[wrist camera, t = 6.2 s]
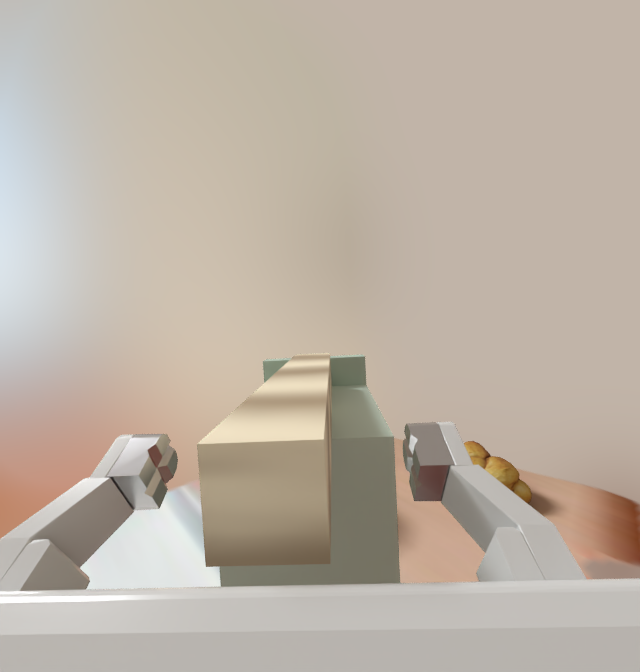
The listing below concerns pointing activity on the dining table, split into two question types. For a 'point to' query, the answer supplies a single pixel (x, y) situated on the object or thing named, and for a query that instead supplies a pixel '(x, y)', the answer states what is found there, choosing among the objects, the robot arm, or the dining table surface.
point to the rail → (272, 472)
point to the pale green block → (347, 493)
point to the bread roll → (499, 470)
